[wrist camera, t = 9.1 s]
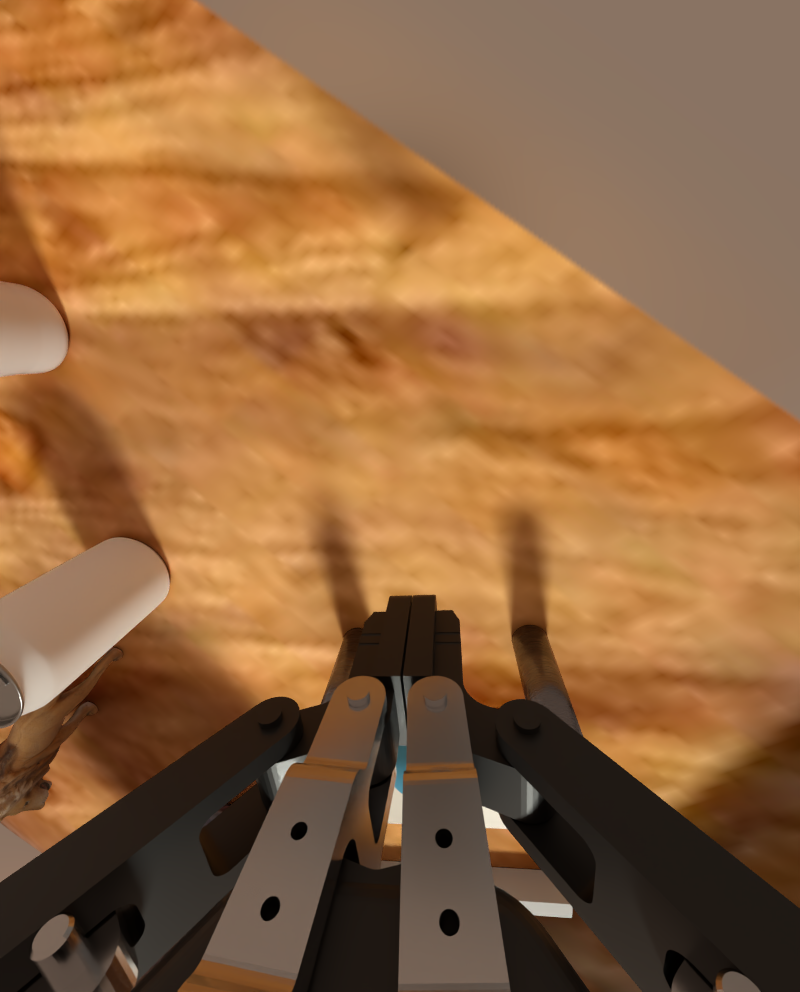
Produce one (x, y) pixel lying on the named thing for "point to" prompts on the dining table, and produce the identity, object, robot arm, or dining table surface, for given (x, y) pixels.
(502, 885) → the wall
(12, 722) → the can
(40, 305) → the drinking glass
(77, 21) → the dining table surface
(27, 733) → the lion figurine
